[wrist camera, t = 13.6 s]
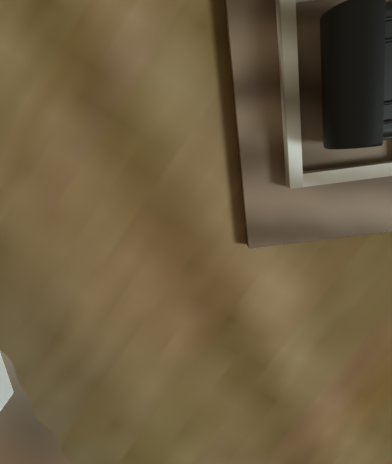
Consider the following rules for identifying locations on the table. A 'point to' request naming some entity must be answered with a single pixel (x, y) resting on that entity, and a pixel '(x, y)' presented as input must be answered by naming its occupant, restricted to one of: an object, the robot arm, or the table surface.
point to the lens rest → (296, 133)
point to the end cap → (356, 74)
